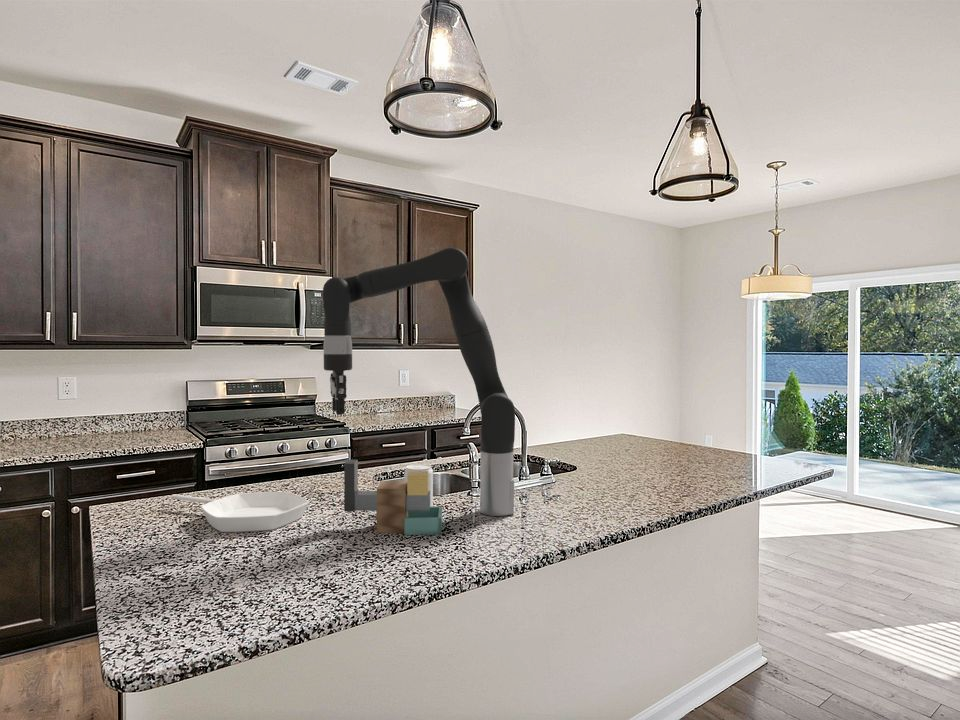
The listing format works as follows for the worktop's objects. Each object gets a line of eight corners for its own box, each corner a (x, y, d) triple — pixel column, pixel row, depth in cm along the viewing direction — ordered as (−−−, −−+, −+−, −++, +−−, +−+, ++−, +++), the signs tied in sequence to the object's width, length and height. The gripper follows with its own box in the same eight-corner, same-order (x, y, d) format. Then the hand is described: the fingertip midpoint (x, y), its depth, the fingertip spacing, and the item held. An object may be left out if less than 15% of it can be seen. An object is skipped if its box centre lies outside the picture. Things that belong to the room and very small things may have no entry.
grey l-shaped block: (430, 505, 155) (430, 459, 155) (429, 511, 150) (429, 463, 150) (347, 505, 154) (347, 459, 154) (344, 511, 149) (344, 463, 149)
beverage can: (428, 513, 166) (428, 470, 166) (400, 511, 168) (400, 468, 167) (436, 505, 174) (436, 464, 174) (409, 503, 176) (409, 463, 175)
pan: (257, 541, 142) (257, 523, 142) (129, 522, 156) (129, 505, 156) (325, 511, 168) (325, 495, 167) (210, 497, 182) (210, 482, 182)
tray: (442, 521, 159) (442, 506, 158) (441, 534, 148) (441, 518, 147) (408, 521, 158) (408, 506, 158) (404, 534, 147) (404, 518, 147)
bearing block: (407, 523, 157) (407, 481, 156) (405, 532, 149) (405, 488, 148) (380, 523, 156) (380, 481, 156) (376, 532, 148) (376, 488, 148)
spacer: (428, 490, 155) (428, 471, 155) (427, 495, 150) (427, 475, 150) (409, 490, 155) (409, 471, 155) (407, 495, 150) (407, 475, 150)
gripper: (355, 352, 156) (356, 415, 156) (348, 352, 169) (348, 409, 170) (326, 353, 153) (326, 416, 154) (321, 352, 167) (321, 410, 167)
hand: (338, 412), depth 162 cm, fingers open, 8 cm apart
